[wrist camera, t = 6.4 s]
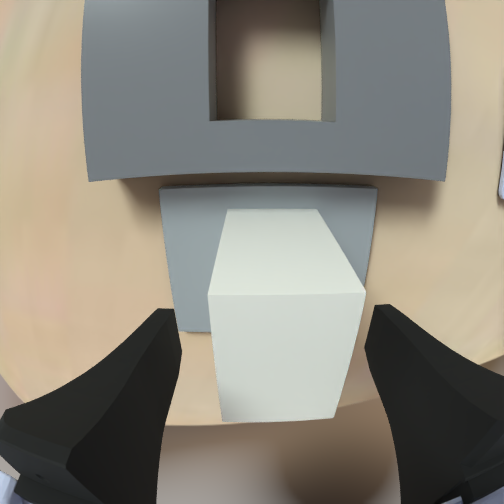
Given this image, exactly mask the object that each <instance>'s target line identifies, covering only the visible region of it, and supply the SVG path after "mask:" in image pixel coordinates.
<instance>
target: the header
mask: <svg viewBox="0 0 504 504" xmlns="http://www.w3.org/2000/svg"><path fill="white" fill-rule="evenodd" d="M319 6H320V28H321V66H322V118H321V121H317V120H293V119H233V120H217V99H216V0H85V5H84V16H83V30H82V54H81V91H82V116H83V131H84V143H85V154H86V163H87V172H88V179H89V182H93V181H102V180H112V179H123V178H134V177H147V176H161V175H177V174H198V173H227V172H313V173H342V174H362V175H378V176H392V177H405V178H416V179H426V180H436V181H445V178H446V169H447V160H448V149H449V136H450V118H451V62H450V45H449V32H448V22H447V14H446V6H445V0H319Z"/></svg>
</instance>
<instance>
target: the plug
mask: <svg viewBox="0 0 504 504" xmlns="http://www.w3.org/2000/svg"><path fill="white" fill-rule="evenodd" d="M365 297H366V291H365V289H364V287H363V285H362V284H361V282H360V280H359V278H358V277H357V275H356V273H355V271H354V270H353V268H352V266H351V264H350V263H349V261H348V259H347V258H346V256H345V254H344V253H343V251H342V249H341V248H340V246H339V244H338V243H337V241H336V239H335V238H334V236H333V234H332V233H331V231H330V229H329V228H328V226H327V225H326V223H325V221H324V220H323V218H322V217H321V215H320V213H319V212H318V210H317V209H228V210H227V214H226V218H225V222H224V226H223V230H222V235H221V239H220V243H219V247H218V251H217V256H216V260H215V264H214V269H213V273H212V277H211V282H210V286H209V291H208V305H209V315H210V325H211V334H212V343H213V352H214V361H215V369H216V377H217V385H218V393H219V400H220V408H221V415H222V422H283V421H301V420H316V419H326V418H334V415H335V411H336V408H337V405H338V402H339V399H340V396H341V392H342V389H343V386H344V382H345V379H346V375H347V372H348V368H349V364H350V361H351V357H352V353H353V349H354V345H355V341H356V337H357V333H358V329H359V324H360V320H361V316H362V311H363V306H364V302H365Z"/></svg>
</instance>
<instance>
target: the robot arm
mask: <svg viewBox="0 0 504 504" xmlns="http://www.w3.org/2000/svg"><path fill="white" fill-rule="evenodd" d="M499 197H500V198H501V199H503V200H504V153H503V162H502V170H501V178H500V184H499ZM364 348H365V352H366V356H367V361H368V365H369V369H370V372H371V374H372V377H373V380H374V382H375V385H376V387H377V390H378V393H379V395H380V398H381V400H382V403H383V406H384V408H385V411H386V414H387V417H388V420H389V423H390V427H391V431H392V436H393V440H394V445H395V450H396V457H397V463H398V471H399V480H400V491H401V492H400V493H401V504H504V376H502V375H500V374H497V373H495V372H492V371H490V370H488V369H486V368H484V367H482V366H479V365H477V364H476V363H474V362H472V361H470V360H468V359H466V358H465V357H463V356H461V355H460V354H458V353H456V352H455V351H453V350H451V349H450V348H448V347H447V346H446V345H444V344H443V343H441V342H440V341H438V340H437V339H436V338H434V337H433V336H431V335H430V334H429V333H427V332H426V331H425V330H423V329H422V328H421V327H420V326H418V325H417V324H416V323H414V322H413V321H412V320H411V319H409V318H408V317H407V316H405V315H404V314H403V313H401V312H400V311H399V310H397V309H396V308H395V307H393V306H392V305H390V304H384V305H375V307H374V311H373V315H372V319H371V323H370V327H369V331H368V335H367V339H366V343H365V347H364ZM181 355H182V349H181V344H180V339H179V333H178V328H177V323H176V317H175V312H174V309H162V308H158V309H157V310H156V311H155V312H153V313H152V314H151V315H150V316H149V317H148V318H147V319H146V320H145V321H144V322H143V323H142V324H141V325H140V326H139V327H138V328H137V329H136V330H135V331H134V332H133V333H132V334H131V335H130V336H129V337H128V338H127V339H126V340H125V341H124V342H123V343H122V344H120V345H119V346H118V347H117V348H116V349H115V350H113V351H112V352H111V353H110V354H109V355H108V356H107V357H105V358H104V359H103V360H102V361H100V362H99V363H98V364H96V365H95V366H94V367H92V368H91V369H89V370H88V371H87V372H85V373H84V374H82V375H81V376H79V377H77V378H76V379H74V380H72V381H70V382H69V383H67V384H65V385H64V386H62V387H60V388H58V389H56V390H54V391H52V392H50V393H48V394H46V395H44V396H42V397H40V398H37V399H35V400H32V401H30V402H27V403H24V404H21V405H18V406H16V407H13V408H9V409H6V410H5V412H4V414H3V416H2V418H1V419H0V455H1V456H2V457H3V458H4V459H5V460H6V461H7V462H8V463H9V464H10V465H11V466H12V467H13V468H14V469H15V470H16V471H18V472H19V473H20V477H19V479H18V480H16V479H15V478H13V477H12V476H10V475H8V474H6V473H5V472H2V471H1V470H0V504H156V497H157V480H158V469H159V459H160V451H161V443H162V437H163V431H164V426H165V422H166V419H167V415H168V411H169V408H170V404H171V401H172V397H173V394H174V390H175V386H176V383H177V379H178V375H179V369H180V363H181Z"/></svg>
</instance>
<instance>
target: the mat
mask: <svg viewBox="0 0 504 504" xmlns="http://www.w3.org/2000/svg"><path fill="white" fill-rule="evenodd" d="M377 192H378V189H377V188H375V187H374V186H363V185H339V184H294V183H252V184H207V185H182V186H163V187H161V188H160V189H159V198H160V207H161V217H162V225H163V233H164V241H165V249H166V256H167V263H168V270H169V277H170V284H171V290H172V296H173V302H174V308H175V314H176V319H177V325H178V330H179V331H186V332H211V325H210V315H209V305H208V291H209V286H210V282H211V277H212V273H213V269H214V264H215V260H216V256H217V251H218V247H219V243H220V239H221V235H222V230H223V226H224V222H225V218H226V214H227V210H228V209H317V210H318V212H319V213H320V215H321V217H322V218H323V220H324V221H325V223H326V225H327V226H328V228H329V229H330V231H331V233H332V234H333V236H334V238H335V239H336V241H337V243H338V244H339V246H340V248H341V249H342V251H343V253H344V254H345V256H346V258H347V259H348V261H349V263H350V264H351V266H352V268H353V270H354V271H355V273H356V275H357V277H358V278H359V280H360V282H361V284H362V285H363V287H364V283H365V278H366V272H367V266H368V260H369V254H370V247H371V241H372V233H373V226H374V218H375V210H376V201H377Z"/></svg>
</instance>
